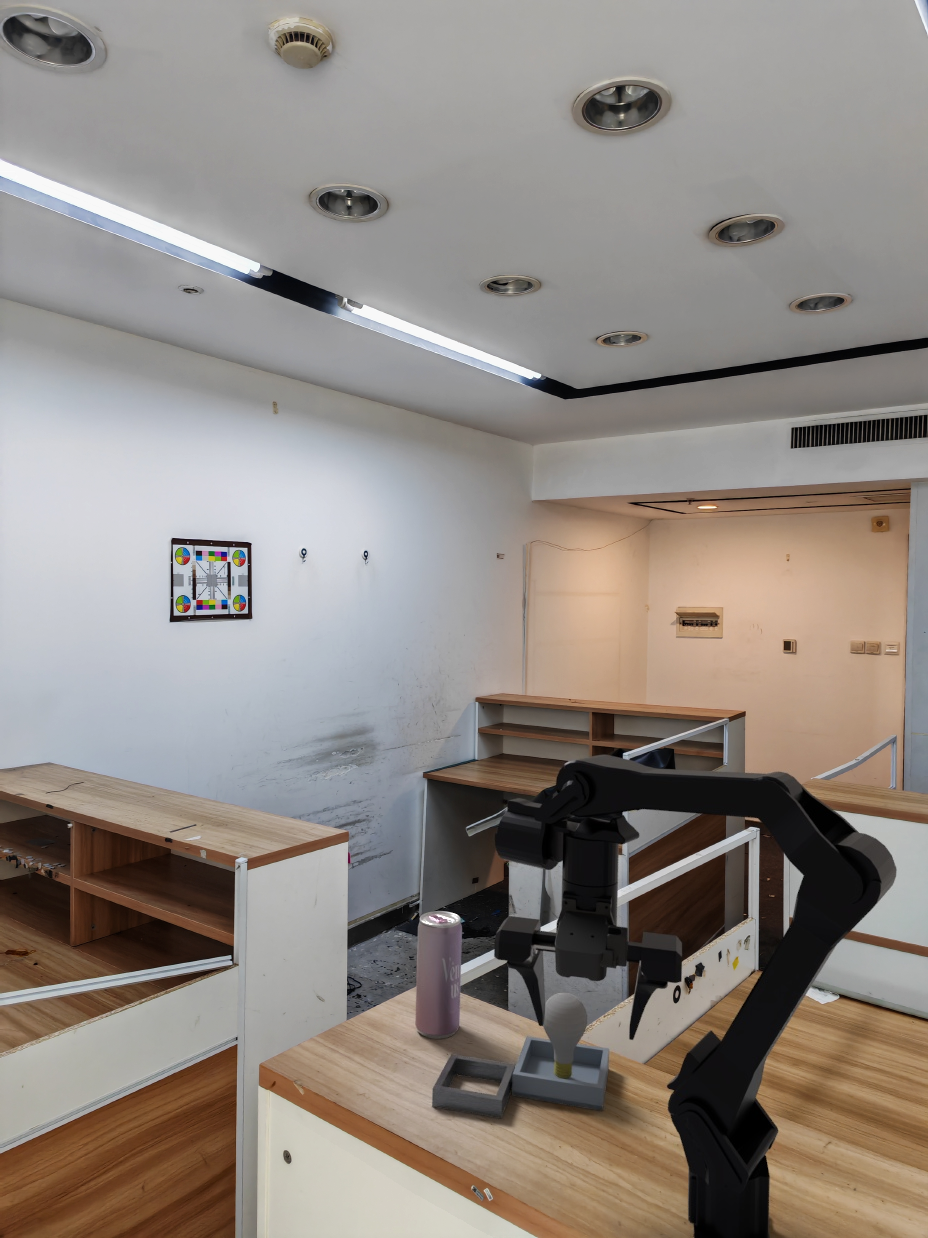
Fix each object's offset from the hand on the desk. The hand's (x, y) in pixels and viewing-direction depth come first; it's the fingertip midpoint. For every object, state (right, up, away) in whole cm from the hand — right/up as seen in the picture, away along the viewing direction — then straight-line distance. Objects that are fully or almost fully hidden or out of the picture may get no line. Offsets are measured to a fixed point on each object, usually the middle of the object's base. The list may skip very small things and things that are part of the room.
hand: (585, 1031), depth 84 cm
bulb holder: (-11, -13, +11) cm, 21 cm away
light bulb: (-1, -13, +14) cm, 19 cm away
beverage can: (-16, -13, +26) cm, 34 cm away
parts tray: (-1, -13, +14) cm, 19 cm away
